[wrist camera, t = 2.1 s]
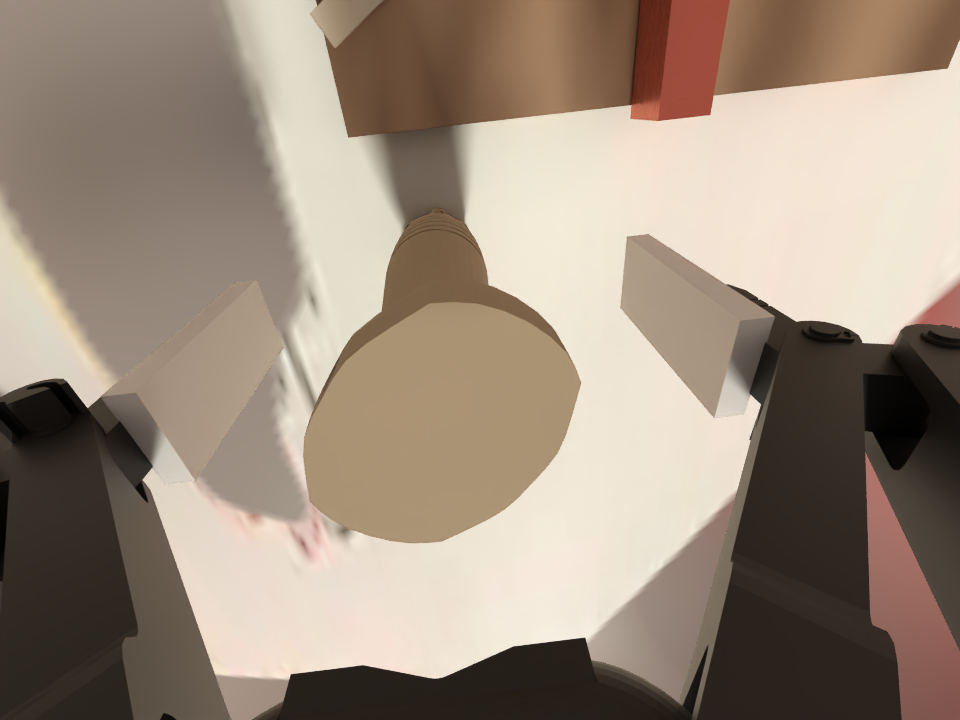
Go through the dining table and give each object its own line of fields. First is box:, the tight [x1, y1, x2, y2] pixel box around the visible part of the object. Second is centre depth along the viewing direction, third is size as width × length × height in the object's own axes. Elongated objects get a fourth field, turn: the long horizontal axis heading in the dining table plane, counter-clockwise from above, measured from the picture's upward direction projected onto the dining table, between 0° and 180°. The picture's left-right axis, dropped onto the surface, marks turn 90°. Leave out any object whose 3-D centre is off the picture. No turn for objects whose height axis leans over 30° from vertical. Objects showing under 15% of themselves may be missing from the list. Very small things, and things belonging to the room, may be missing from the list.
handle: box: [303, 208, 581, 543], centre depth 15 cm, size 5×6×15 cm
